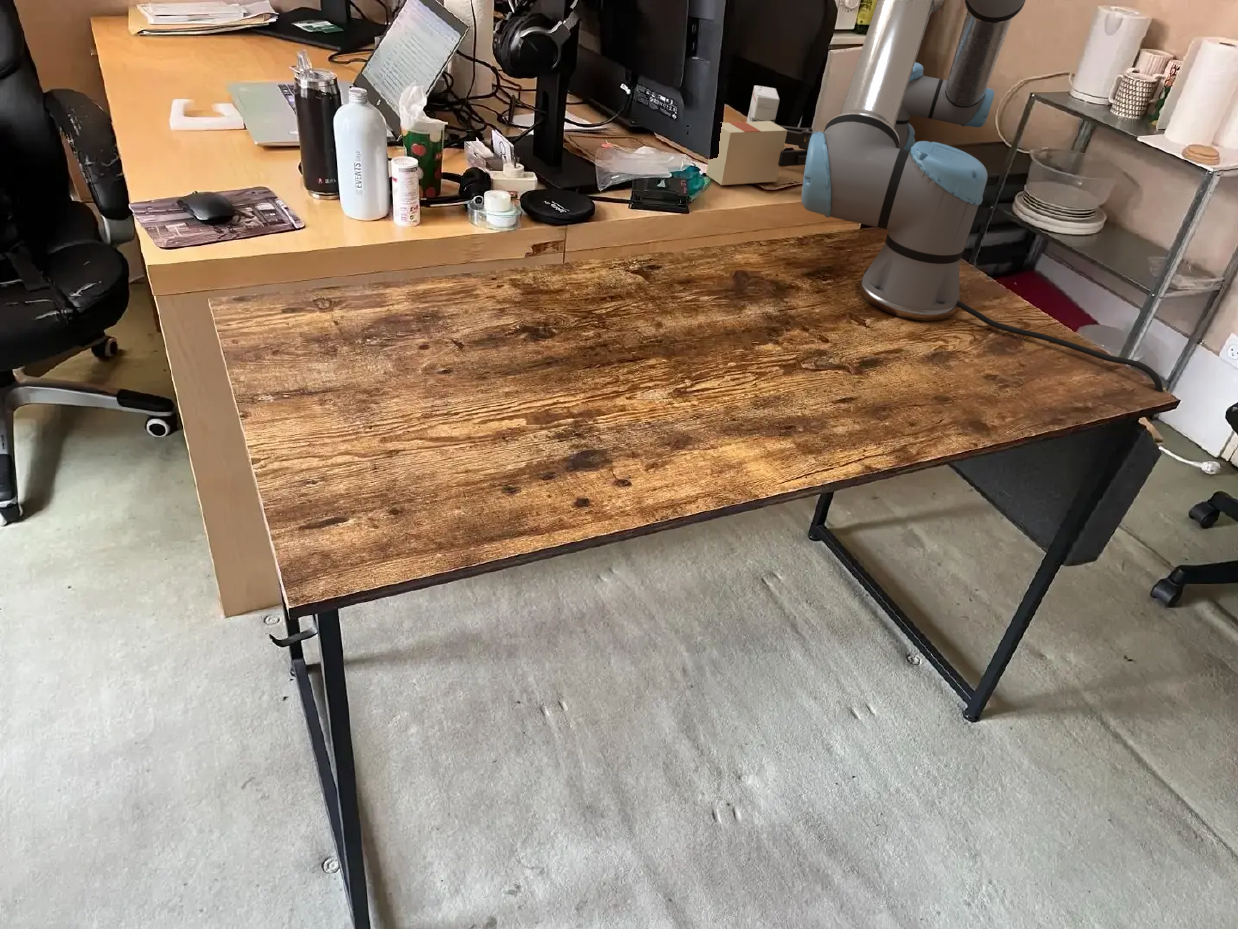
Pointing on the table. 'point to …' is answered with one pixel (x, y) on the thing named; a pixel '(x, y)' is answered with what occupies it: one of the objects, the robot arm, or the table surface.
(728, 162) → the carton
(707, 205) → the table surface
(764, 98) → the ink box
